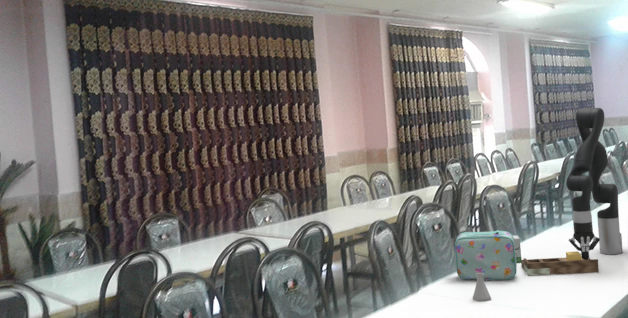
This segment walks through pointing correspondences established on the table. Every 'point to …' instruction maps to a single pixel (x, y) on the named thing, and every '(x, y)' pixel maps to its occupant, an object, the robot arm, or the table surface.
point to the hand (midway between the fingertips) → (585, 259)
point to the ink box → (517, 248)
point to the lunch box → (486, 255)
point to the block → (573, 256)
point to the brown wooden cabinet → (559, 266)
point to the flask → (481, 289)
